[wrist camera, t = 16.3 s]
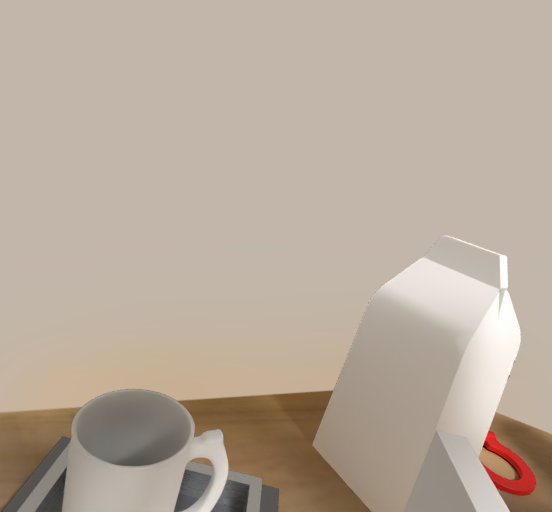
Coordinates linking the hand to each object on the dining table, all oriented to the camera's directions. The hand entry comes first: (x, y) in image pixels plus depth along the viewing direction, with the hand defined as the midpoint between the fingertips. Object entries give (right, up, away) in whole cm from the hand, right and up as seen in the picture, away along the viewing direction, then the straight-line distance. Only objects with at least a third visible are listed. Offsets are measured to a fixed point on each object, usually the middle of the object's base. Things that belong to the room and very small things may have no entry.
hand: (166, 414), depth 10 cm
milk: (+15, -20, +35) cm, 42 cm away
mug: (-7, -17, +18) cm, 26 cm away
